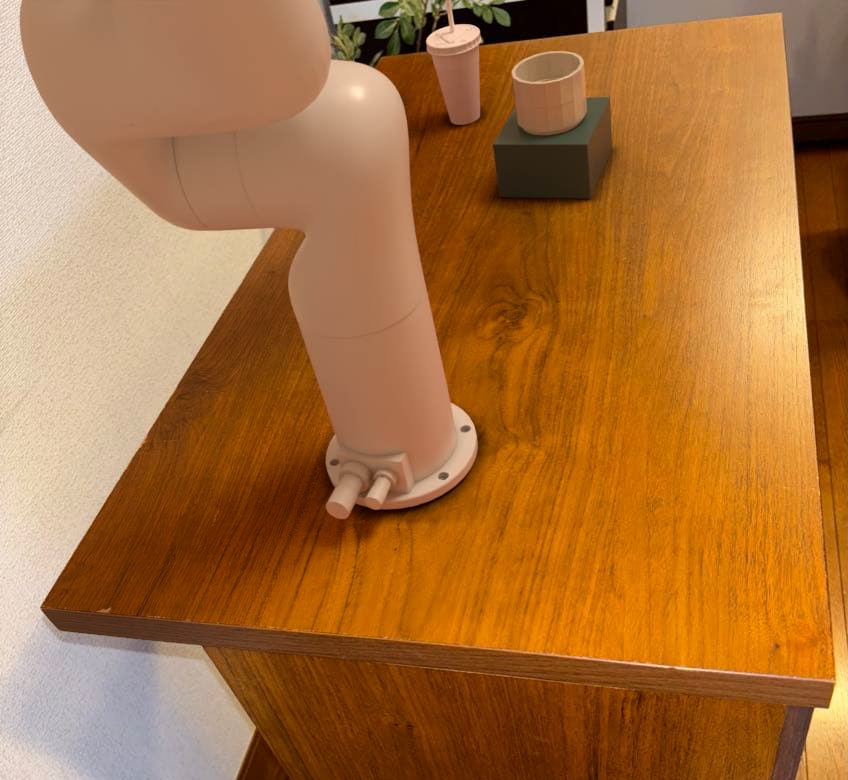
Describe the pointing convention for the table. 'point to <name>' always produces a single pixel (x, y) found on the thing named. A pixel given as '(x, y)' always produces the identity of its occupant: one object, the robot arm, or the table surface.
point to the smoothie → (457, 68)
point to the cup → (550, 92)
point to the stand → (555, 157)
